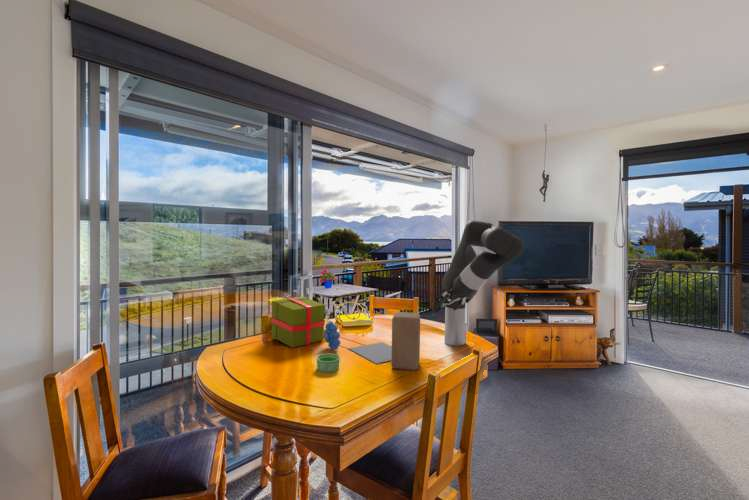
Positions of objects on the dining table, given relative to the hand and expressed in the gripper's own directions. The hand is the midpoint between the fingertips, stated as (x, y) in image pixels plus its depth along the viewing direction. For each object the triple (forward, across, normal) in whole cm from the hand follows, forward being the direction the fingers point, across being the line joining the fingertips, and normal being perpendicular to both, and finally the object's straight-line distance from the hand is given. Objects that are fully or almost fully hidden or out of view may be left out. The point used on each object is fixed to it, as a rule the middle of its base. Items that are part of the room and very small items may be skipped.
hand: (444, 309), depth 125 cm
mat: (+45, 0, -9) cm, 46 cm away
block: (+33, 0, +4) cm, 33 cm away
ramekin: (+42, +27, -5) cm, 50 cm away
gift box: (+72, +24, -35) cm, 83 cm away
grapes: (+56, +16, -20) cm, 62 cm away
